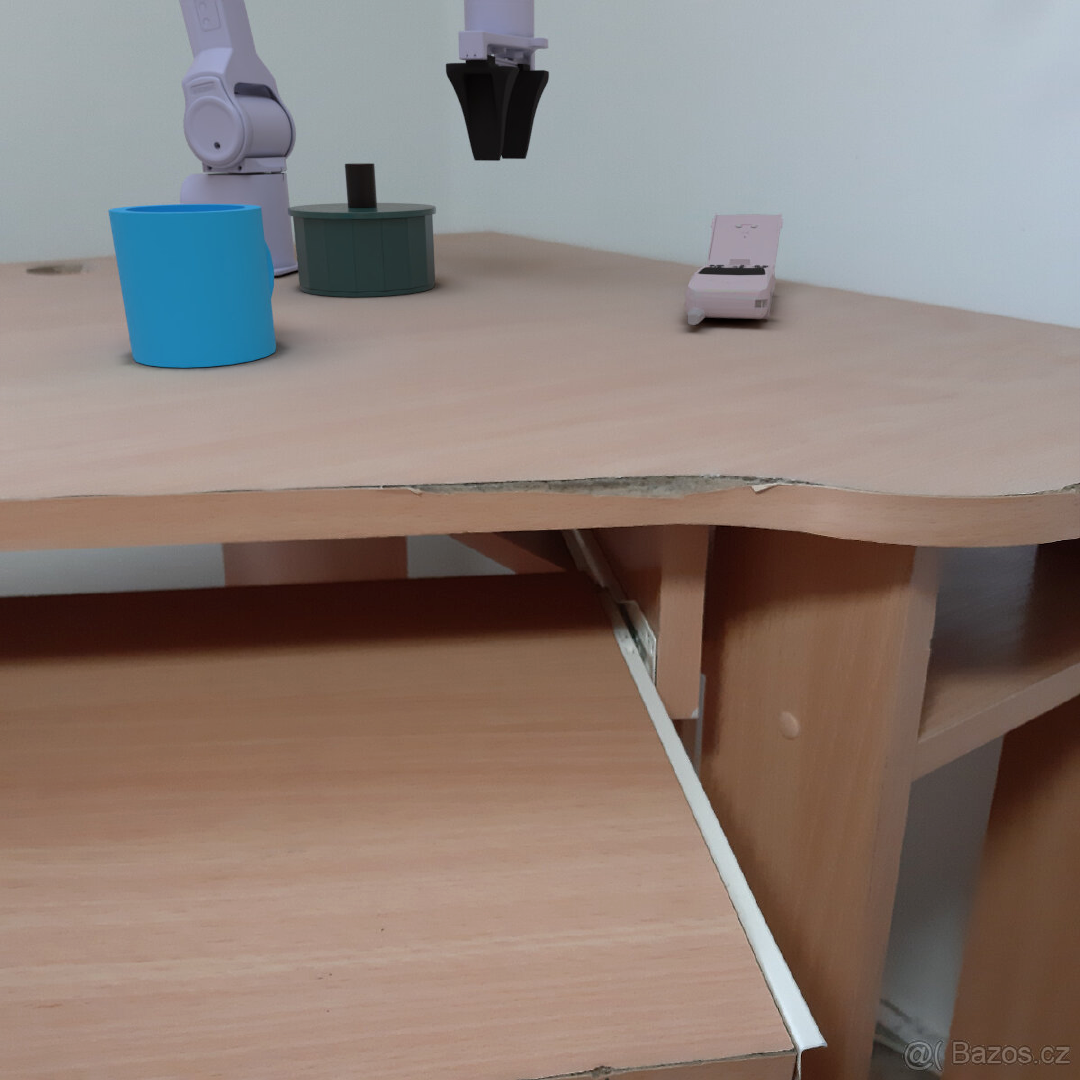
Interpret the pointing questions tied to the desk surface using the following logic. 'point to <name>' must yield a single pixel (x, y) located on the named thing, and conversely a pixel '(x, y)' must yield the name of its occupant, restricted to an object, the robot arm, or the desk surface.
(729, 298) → the pale pink hinged device
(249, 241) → the mug
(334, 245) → the tin
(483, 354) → the desk surface
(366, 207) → the lid
